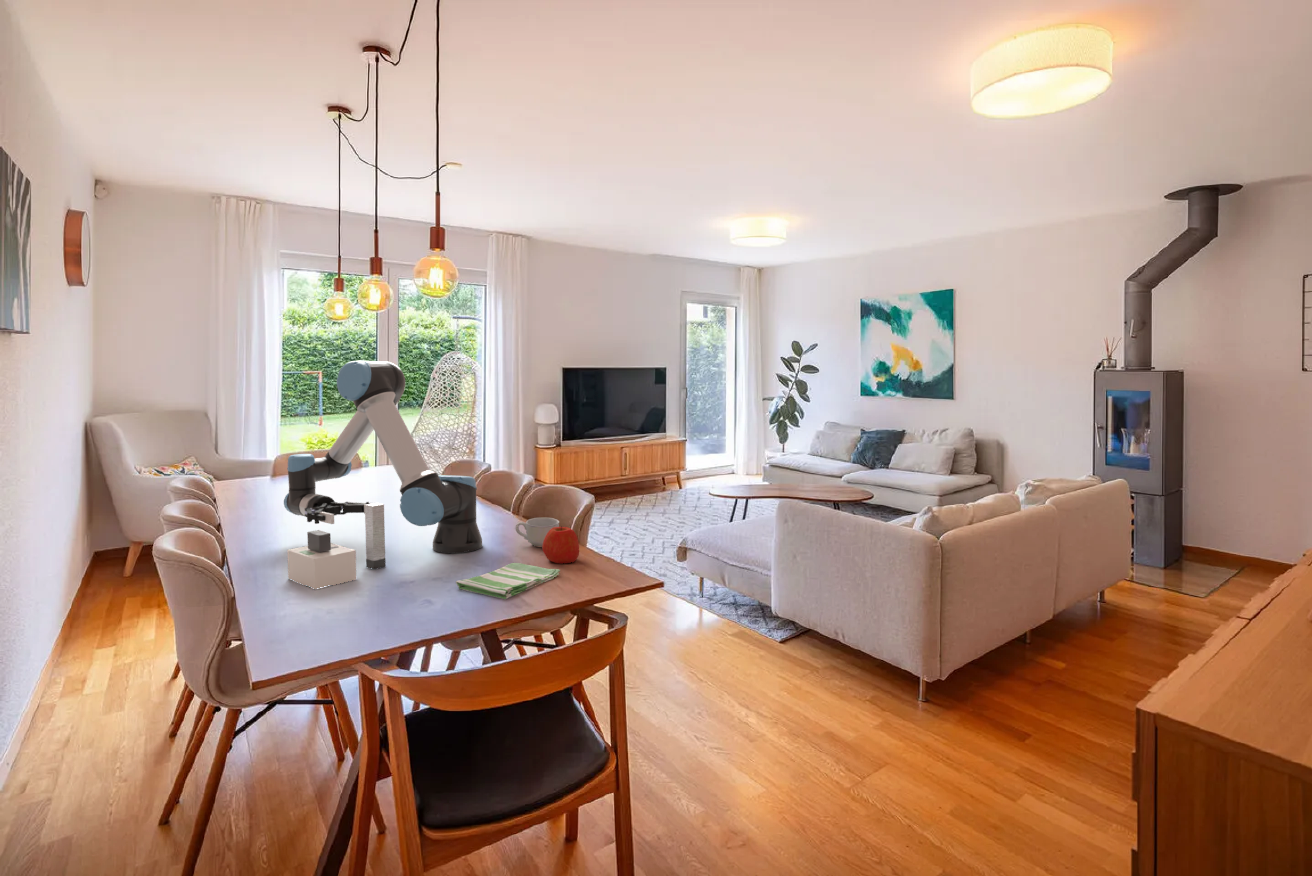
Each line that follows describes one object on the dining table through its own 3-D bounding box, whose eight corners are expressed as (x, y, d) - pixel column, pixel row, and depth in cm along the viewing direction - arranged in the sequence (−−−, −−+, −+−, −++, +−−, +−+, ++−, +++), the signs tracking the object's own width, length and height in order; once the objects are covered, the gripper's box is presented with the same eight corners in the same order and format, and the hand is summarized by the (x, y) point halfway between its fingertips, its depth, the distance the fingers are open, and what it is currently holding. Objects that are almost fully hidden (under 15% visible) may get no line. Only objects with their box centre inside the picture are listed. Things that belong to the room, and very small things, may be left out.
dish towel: (562, 577, 187) (562, 567, 187) (507, 601, 166) (507, 591, 166) (511, 568, 195) (511, 558, 195) (452, 590, 174) (452, 580, 174)
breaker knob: (319, 546, 182) (318, 530, 181) (330, 550, 178) (330, 533, 178) (307, 548, 179) (307, 532, 179) (319, 552, 176) (319, 535, 175)
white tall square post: (378, 564, 195) (376, 502, 193) (385, 566, 193) (384, 504, 191) (366, 567, 192) (364, 504, 190) (373, 569, 190) (372, 506, 188)
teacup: (562, 541, 224) (562, 517, 224) (554, 550, 214) (554, 525, 213) (521, 540, 226) (521, 516, 225) (511, 548, 215) (511, 523, 214)
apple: (535, 563, 199) (535, 527, 198) (557, 554, 208) (557, 520, 207) (565, 568, 194) (565, 531, 193) (586, 559, 203) (586, 524, 202)
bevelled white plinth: (328, 570, 188) (328, 541, 188) (356, 579, 180) (355, 550, 179) (288, 579, 179) (287, 549, 179) (315, 589, 171) (314, 558, 170)
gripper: (357, 512, 220) (394, 520, 207) (277, 526, 200) (313, 536, 187) (356, 489, 219) (393, 496, 206) (275, 500, 199) (312, 509, 186)
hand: (355, 515), depth 197 cm, fingers open, 13 cm apart
